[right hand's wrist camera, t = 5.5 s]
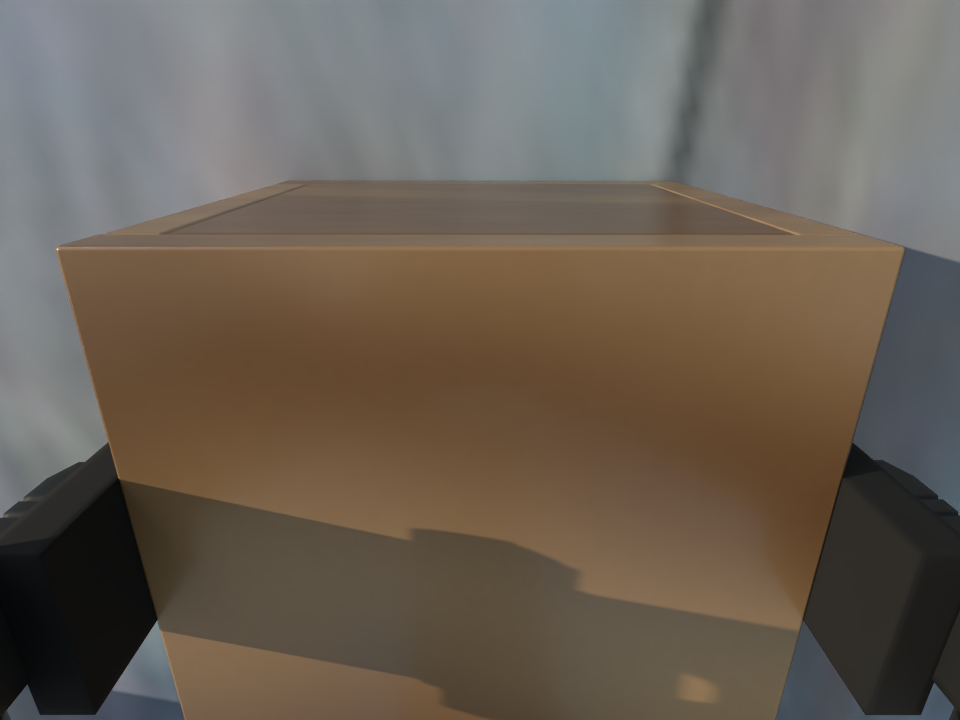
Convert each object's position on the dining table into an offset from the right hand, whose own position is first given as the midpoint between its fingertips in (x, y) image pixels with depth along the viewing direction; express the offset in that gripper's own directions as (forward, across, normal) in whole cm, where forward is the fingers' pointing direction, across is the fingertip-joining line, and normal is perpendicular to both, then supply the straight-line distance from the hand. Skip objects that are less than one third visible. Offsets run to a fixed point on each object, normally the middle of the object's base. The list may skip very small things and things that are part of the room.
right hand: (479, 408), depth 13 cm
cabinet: (+4, 0, -5) cm, 7 cm away
